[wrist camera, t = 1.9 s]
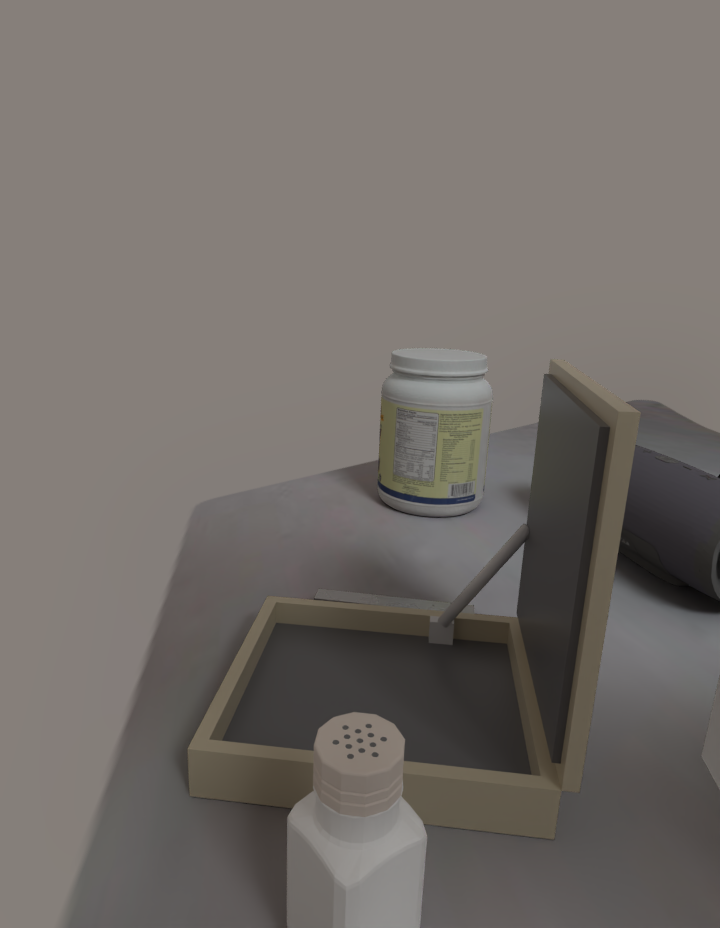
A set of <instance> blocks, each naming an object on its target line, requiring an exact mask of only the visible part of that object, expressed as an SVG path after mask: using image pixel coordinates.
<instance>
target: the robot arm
mask: <svg viewBox="0 0 720 928" xmlns="http://www.w3.org/2000/svg"><path fill="white" fill-rule="evenodd" d="M701 757H702V759H703V761H704V762H705V764H706V766H707V768H708V770H709V772H710V773H711V775H712V777H713V779H714V781H715V782H716V784H717V786H718V788H719V790H720V676H719V680H718V685H717V689H716V694H715V698H714V703H713V707H712V711H711V716H710V720H709V725H708V729H707V733H706V738H705V742H704V747H703V751H702V755H701Z"/></svg>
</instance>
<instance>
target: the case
mask: <svg viewBox="0 0 720 928" xmlns="http://www.w3.org/2000/svg"><path fill="white" fill-rule="evenodd" d="M639 419H640V412H639V411H637V410H636V409H635V408H633V407H632V406H630V405H629V404H627V403H626V402H624V401H623V400H621V399H620V398H619V397H617V396H616V395H614V394H613V393H611V392H610V391H608V390H607V389H606V388H604V387H603V386H601V385H600V384H598V383H597V382H595V381H594V380H592V379H591V378H590V377H588V376H587V375H585V374H584V373H582V372H581V371H579V370H578V369H577V368H575V367H574V366H572V365H571V364H569V363H568V362H566V361H565V360H558V359H551V360H550V368H549V374H544V380H543V390H542V397H541V406H540V415H539V423H538V432H537V441H536V449H535V458H534V467H533V475H532V484H531V493H530V501H529V510H528V519H527V525H526V524H523V525H522V526H521V527H520V528H519V529H518V530H517V531H516V532H515V534H514V535H513V536H512V537H511V538H510V539H509V540H508V541H507V542H506V544H505V545H504V546H503V547H502V548H501V549H500V550H499V551H498V553H497V554H496V555H495V556H494V557H493V558H492V559H491V560H490V561H489V563H488V564H487V565H486V566H485V567H484V568H483V569H482V570H481V571H480V573H479V574H478V575H477V576H476V577H475V578H474V579H473V580H472V581H471V583H470V584H469V585H468V586H467V587H466V588H465V589H464V590H463V591H462V593H461V594H460V595H459V596H458V597H457V598H456V599H455V600H454V601H453V603H452V604H451V605H450V606H449V607H448V608H447V609H446V610H445V611H436V610H424V609H413V608H401V607H390V606H379V605H367V604H356V603H344V602H333V601H321V600H310V599H298V598H287V597H275V596H267V598H266V600H265V602H264V604H263V606H262V608H261V610H260V611H259V613H258V615H257V617H256V619H255V621H254V623H253V625H252V627H251V629H250V631H249V632H248V634H247V636H246V638H245V640H244V642H243V644H242V646H241V648H240V650H239V652H238V653H237V655H236V657H235V659H234V661H233V663H232V665H231V667H230V669H229V671H228V672H227V674H226V676H225V678H224V680H223V682H222V684H221V686H220V688H219V690H218V692H217V693H216V695H215V697H214V699H213V701H212V703H211V705H210V707H209V709H208V711H207V713H206V714H205V716H204V718H203V720H202V722H201V724H200V726H199V728H198V730H197V732H196V733H195V735H194V737H193V739H192V741H191V743H190V745H189V747H188V749H187V751H188V772H189V792H190V796H192V797H201V798H209V799H217V800H226V801H234V802H243V803H251V804H259V805H268V806H276V807H284V808H293V807H294V806H295V804H296V803H298V802H299V801H300V800H302V799H303V798H304V797H306V796H307V795H308V794H310V793H311V792H312V791H314V789H313V774H314V772H313V764H314V762H313V756H314V743H315V739H316V736H317V732H318V729H319V728H320V727H322V726H323V725H324V724H325V723H327V722H328V721H329V720H330V719H332V718H333V717H336V716H340V715H344V714H348V713H352V712H359V713H368V714H376V715H378V716H380V717H382V718H384V719H386V720H388V721H390V722H392V723H394V724H395V726H396V727H397V728H398V730H399V731H400V733H401V734H402V736H403V737H404V739H405V749H404V764H403V792H402V797H403V799H404V800H405V801H406V802H407V803H408V804H409V805H410V806H411V807H412V809H413V810H414V811H415V812H416V813H417V815H418V816H419V817H420V818H421V820H422V821H423V824H427V825H435V826H444V827H452V828H460V829H469V830H477V831H485V832H494V833H502V834H511V835H519V836H527V837H536V838H544V839H552V840H554V837H555V830H556V824H557V817H558V810H559V804H560V797H561V791H567V792H576V793H580V787H581V780H582V774H583V768H584V762H585V755H586V749H587V743H588V737H589V731H590V724H591V718H592V712H593V706H594V699H595V693H596V687H597V681H598V674H599V668H600V662H601V656H602V650H603V643H604V637H605V631H606V625H607V618H608V612H609V606H610V600H611V593H612V587H613V581H614V575H615V569H616V562H617V556H618V550H619V544H620V537H621V531H622V525H623V519H624V512H625V506H626V500H627V494H628V488H629V481H630V475H631V469H632V463H633V456H634V450H635V444H636V438H637V431H638V425H639ZM524 542H525V545H524V553H523V562H522V571H521V579H520V588H519V597H518V605H517V616H518V618H516V617H505V616H493V615H482V614H470V613H460V612H461V611H462V610H463V609H464V608H465V607H466V606H467V605H468V604H469V602H470V601H471V600H472V599H473V598H474V597H475V596H476V595H477V594H478V593H479V591H480V590H481V589H482V588H483V587H484V586H485V585H486V584H487V583H488V582H489V580H490V579H491V578H492V577H493V576H494V575H495V574H496V573H497V572H498V571H499V569H500V568H501V567H502V566H503V565H504V564H505V563H506V562H507V561H508V560H509V558H510V557H511V556H512V555H513V554H514V553H515V552H516V551H517V550H518V549H519V547H520V546H521V545H522V544H523V543H524Z"/></svg>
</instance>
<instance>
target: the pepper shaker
mask: <svg viewBox="0 0 720 928" xmlns="http://www.w3.org/2000/svg"><path fill="white" fill-rule="evenodd" d="M404 749H405V739H404V737H403V736H402V734H401V733H400V731H399V730H398V728H397V727H396V726H395V724H394V723H392V722H390V721H388V720H386V719H384V718H382V717H380V716H378V715H376V714H368V713H359V712H352V713H348V714H344V715H340V716H336V717H333V718H332V719H330V720H329V721H328V722H327V723H325V724H324V725H323V726H322V727H320V728H319V729H318V732H317V736H316V739H315V743H314V756H313V762H314V764H313V772H314V774H313V789H314V791H312V792H311V793H310V794H308V795H307V796H306V797H304V798H303V799H302V800H300V801H299V802H298V803H296V804H295V806H294V807H293V809H292V810H291V812H290V813H289V815H288V817H287V928H420V921H421V908H422V896H423V883H424V870H425V858H426V845H427V834H426V831H425V828H424V824H423V821H422V820H421V818H420V817H419V816H418V815H417V813H416V812H415V811H414V810H413V809H412V807H411V806H410V805H409V804H408V803H407V802H406V801H405V800H404V799H403V797H402V792H403V764H404Z"/></svg>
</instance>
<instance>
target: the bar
mask: <svg viewBox="0 0 720 928" xmlns="http://www.w3.org/2000/svg"><path fill="white" fill-rule="evenodd" d="M314 600H321V601H333V602H344V603H356V604H367V605H379V606H390V607H401V608H413V609H424V610H436V611H445V610H446V609H447V608H448V607H449V606H450V605H451V604H452V603H448V602H439V601H429V600H420V599H411V598H402V597H393V596H383V595H374V594H365V593H356V592H347V591H337V590H328V589H318V591H317V593H316V595H315V597H314ZM460 613H470V614H474V605H467V606H466V607H465V608H464V609H463V610H462V611H461V612H460Z"/></svg>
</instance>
